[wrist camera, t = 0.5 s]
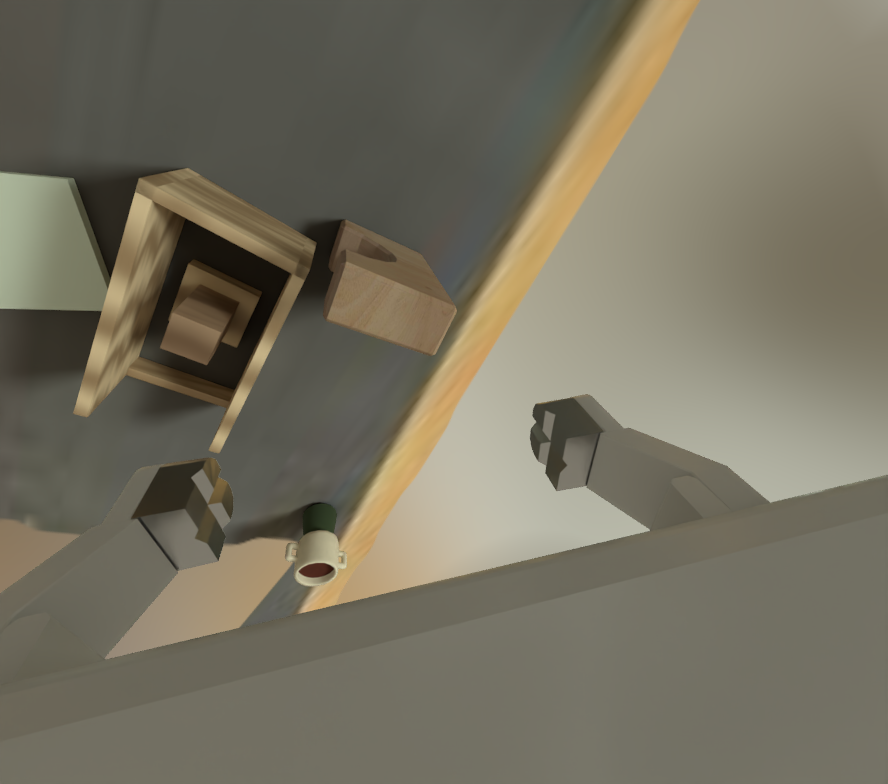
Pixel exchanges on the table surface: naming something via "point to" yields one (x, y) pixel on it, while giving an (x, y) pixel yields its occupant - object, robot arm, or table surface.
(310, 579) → the character mug
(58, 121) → the table surface
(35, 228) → the sage board
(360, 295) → the decorative block
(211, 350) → the walnut block
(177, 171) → the oak cubby
